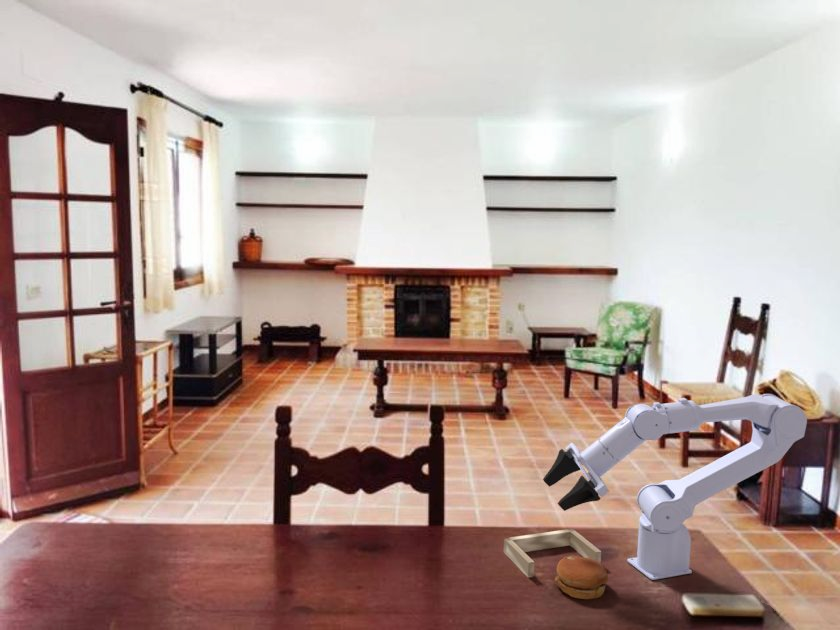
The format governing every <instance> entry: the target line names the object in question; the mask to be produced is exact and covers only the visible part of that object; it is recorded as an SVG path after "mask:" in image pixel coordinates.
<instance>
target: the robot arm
mask: <svg viewBox="0 0 840 630" xmlns="http://www.w3.org/2000/svg"><path fill="white" fill-rule="evenodd" d="M677 400H678V401H675V402H668V403H667V402H666V403H660V402H658V401H656V402H653V403H652V404H653V405H652V406H650V405H648V404H646V403H639V404H637V403H636V404H635V405H633V406H632V405H630V406H629V407H628V408H627V409H626V411H625V414H624V415H625V416H624V418H623V419H622V420H620V421H619V422H618V423H617V424H615V425H613V426H612V427H611V428H609V430H608V431H606V432H605V433H603V434H602V435H601V436H600V437H598V439H597V440H595V441H594V442H593V443H592V444H590V445H589V446H588V447H587V448H585V449H584V450H583V451H581V450H579V448H578V447H577V446H576V445H575V444H574V443H573V442H570V443H569V444H568V445H567V446H565V447H564V448H565V450H564V449H563V448H560V449H559V450H558V454H557V456H556V459H555V461H554V462H553V465H552V466H551V467H550V469H549V471H548V472H547V473H546V475H544V477H543V479H542V480H543V482H544V483H545V484H546V485H547V486H548V487H552V486H554V485H556V484H557V483H558V482H559V481H560V480H562V479H564V478H565V477H567V476H569V475H572V474H573V473H576V472H579V471H581V472H582V473H583V474H584V475H581V476H580V477H579V479H578V480H577V482H576V483H575V485H574V486H573V487H572V488H571V489H570V491H569V492H567V493H566V494H565V495H563V497H561V498H560V500H559V501H558V502H557V505H558V506H559V507H560V508H561V509H562V510H563V511H564V512H565V511H567V510H570V509H572V508H574V507H577V506H579V505H583V504H587V503H590V502H599V501H600V500H601V498H603V497H604V496H605V495H606V494H608V493H609V492H610V489H609V488H608V487H607V485H606V484H605V482H604V481H603V479H602V477H603V476H604V475H605V474H606V473H607V472H608V471H610V470H611V469H612V468H613V467H615V466H616V465H617V464H618V463H620V462H622V460H624V459H625V458H626V457H628V456H629V455H630V454H631V453H633V452H634V450H636V449H637V448H638V447H639V446H641V445H642V444H644V443H645V442H646V441H653V442H654V441H656V440H658V439H660V438H661V437H662V436H663V435H668V434H675V433H685V432H691V431H692V432H693V431H697V430H699V429H701V428H700V427H701V426H702V425H703V424H704V423H714V422H715V423H716V422H717V423H718V422H729V421H743V420H746V421H750V422H751V427H752V433H751V439H750V441H749V442H748V443H746V444H744V445H742V446H740V447H739V448H736V449H735V450H733V451H731V452H729V453H727V454H726V455H723V456H722V457H719V458H718V459H716V460H714V461H711V462H710V463H708V464H706V465H704V466H703V467H700V468H699V469H697V470H695V471H694V472H691V473H689V474H688V475H685V476H683V477H682V478H679V479H665V480H663V481H662V482H659V483H650V484H646V485H645V486H643V487H641V488H640V489H639V491H638V493H637V495H636V502H637V506H638V508H639V509H640V510H641V514H640V517H639V519H638V537H637V553H636V557H631V558H627V563H629V564H630V565H631V566H633V567H635V568H636V569H637V570H638V571H639V572H641V573H642V574H643V575H645V577H647V578H648V579H650V580H652V581H654V580H655V581H656V580H660V579H665V578H672V577H677V576H682V575H683V576H684V575H688V574H692V572H693V571H692V569H690V557H691V547H692V546H691V544H692V543H691V542H692V541H691V540H692V539H691V534H690V532H689V529H688V528H687V527H686V526H685V524H684V522H685V521H686V520H687V519H689V518H692V517H693V514H694V512H695V507H696V505H698V504H700V503H702V502H704V501H707V500H708V499H710V498H711V497H714V496H716V495H718V494H720V493H722V492H723V491H725V490H727V489H729V488H731V487H733V486H735V485H737V484H739V483H740V482H742V481H744V480H746V479H749V478H750V477H752V476H755V475H756V474H757V473H760V472H762V471H764V470H765V469H767V468H769V467H771V466H773V465H775V464H777V463H778V462H780V461H781V460H782V459H783V457H784V456H785V454H787V452H788V451H789V449H791V447H792V446H793V444H794V443H795V442H797V441H799V440H800V439H802V438H805V433H806V430H807V429H806V428H807V424H808V418H807V414H806V413H805V411H804V410H803V409H802V408H801V407H799V406H798V405H795V404H793V403H792V404H791V403H789V402H787V401H786V400H783V399H782V398H779V397H778V396H776V395H775V394H773V393H763V394H751V395H748V396H743V397H739V398H733V399H728V400H722V401H717V402H711V403H706V404H701V405H699V404H697V403H696V402H695V401H693V400H691V399H690V400H688V399H687V398H685V397H682V398H681V397H680V398H678V399H677ZM583 466H584V467H583ZM586 470H587V471H586ZM584 476H585V477H584Z"/></svg>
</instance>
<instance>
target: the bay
mask: <svg viewBox="0 0 840 630" xmlns="http://www.w3.org/2000/svg"><path fill="white" fill-rule="evenodd" d="M567 546H570V547H571V548H572V549H574V550H575V551H576V552H577V553H578V554H579V555H581V557H584V558H591V559H594V560H596V561H598V562H599V563H601V562H602V551H601V550H600V549H599V548H598V547H596V546H595V545H594V544H593V543H592V542H590V541H589V540H587V539H586V538H585V537H584V536H583V535H581V534H580V533H578V532H577V530H575V529H573V528H568V529H559V530H554V531H545V532H539V533H533V534H525V535H518V536H511V537H504V538H503V553H504V554H505V556H506V557H508V559H510V561H512V563H513V564H514V565H515V566H516V567H517V568H518V569H519V570H520V571H521V573H523V574H524V575H525V576H526V577H527V578H533V577H534V576H535V561H534V560H533V559H532V558H531V557H530V556H529V555H528V554H527V553H528V552H535V551H540V550H541V551H542V550H549V549H553V548H562V547H567ZM526 552H527V553H526ZM601 564H602V563H601Z"/></svg>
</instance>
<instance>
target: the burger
mask: <svg viewBox="0 0 840 630" xmlns="http://www.w3.org/2000/svg"><path fill="white" fill-rule="evenodd" d="M608 580H609V576H608V573H607V571H606V569H605V567H604V566H603V564H602V563H599V562H598V561H596V560H594V559H591V558H584V557H583V556H579V555H572V554H571V555H569V556H564V557H563V558H561V559H560V560H559V561H558V563H557V566H556V575H555V577H554V581H555V582H554V583H555V585H556V587H558V588H559V589H560V590H561V591H562V592H563V593H565V594H566V595H569V597H572V598H575V599H579V600H594V599H598V598H600V597H602V596H603V595H604V593H605V589H606V584H607V583H608Z"/></svg>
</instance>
